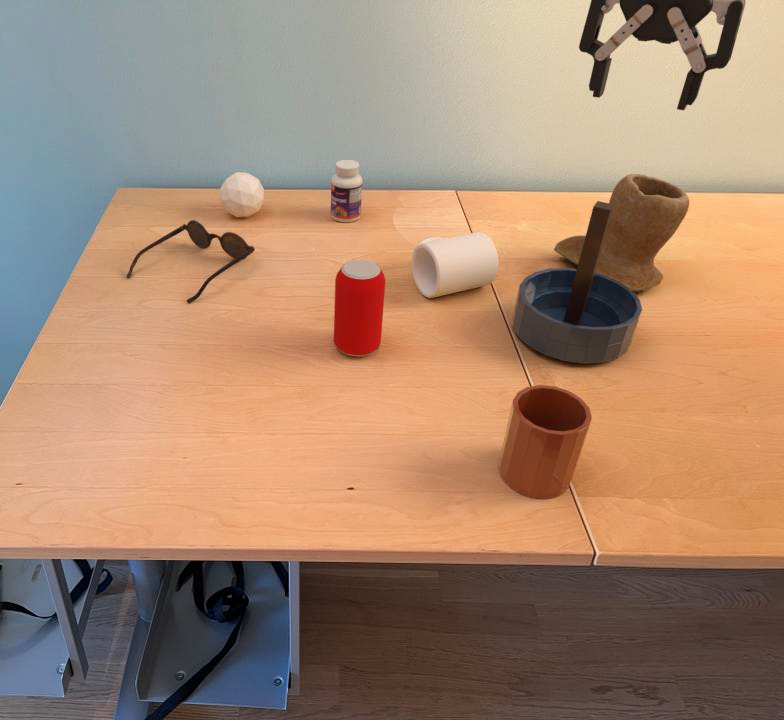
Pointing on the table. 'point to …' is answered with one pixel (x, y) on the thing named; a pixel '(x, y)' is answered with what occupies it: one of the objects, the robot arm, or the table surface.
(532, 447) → the holder
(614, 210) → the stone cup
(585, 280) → the stick
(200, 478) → the table surface
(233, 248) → the eyeglasses
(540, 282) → the bowl
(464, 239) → the mug
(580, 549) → the table surface
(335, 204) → the pill bottle
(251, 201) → the geometric ball
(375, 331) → the beverage can
